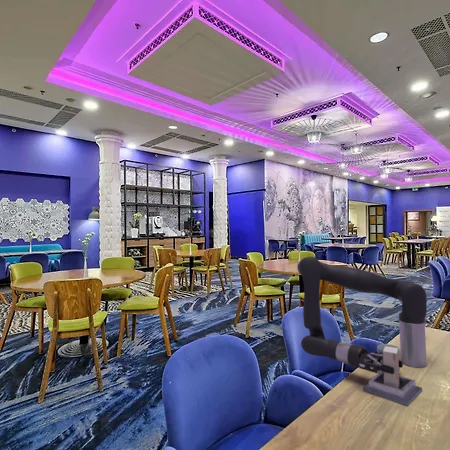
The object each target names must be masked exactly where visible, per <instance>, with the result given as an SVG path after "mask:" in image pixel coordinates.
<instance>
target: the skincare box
mask: <svg viewBox="0 0 450 450" xmlns="http://www.w3.org/2000/svg"><path fill="white" fill-rule="evenodd" d="M398 348H399V347H398ZM398 348H394V347H387V346H385V347H384V350H383V364H384V365H387V366H391V367H393V368H394V374H389V373H386V372H384V384H386V385H389V386H392V387H395V388H398V389H399V376H400V371H399V360H398Z"/></svg>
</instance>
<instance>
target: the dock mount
mask: <svg viewBox="0 0 450 450" xmlns="http://www.w3.org/2000/svg"><path fill="white" fill-rule="evenodd" d="M362 392H366V393H368V394H370V395H371V394H372V395H374V396H376V397H379V398H382V399H386V400H388V401H391V402H394V403H397V404H400V405H402V406H405V407H408V406H410V404H411V403H413V401H414V400H415V399H416V398H417V397H418V396H419V395H420V394H421V393H422V392H423V387H421V386H417V385H416V380H415V379H412V378H408V377H405V376H401V375H399V389H398V388H395V387H392V386H389V385H386V384H384V372H383V371H382V372H378V373H376V374H375V376H373V377H372V378H370V379H369V380H368V383H367V384H366V385H365V386H363V387H362Z"/></svg>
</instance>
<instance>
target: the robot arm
mask: <svg viewBox="0 0 450 450" xmlns="http://www.w3.org/2000/svg"><path fill="white" fill-rule="evenodd" d="M297 272H298V274H299V275H300V276H301V277H302V281H303V293H304V294H303V306H302V307H303V309H302V310H303V315H302V316H303V326H304V328H305V329H307V330H308V332H309V335H306V336H304V337H303V338H302V339H301V340H300V341H301V342H300V345H301V348H302V350H303V351H304V352H305V353H307V354H309V355H310V356H311V355H312V356H317V357H326V358H328V359H332V360H336V361H338V362H341V363H343V364H346V365H350V366H352V367H355V368H358V369H361V370H365V371H368V372H372V373H374V374H378V373H380V372H382V371H383V372H386V373H389V374H394V368H393V367H391V366H387V365H384V364H383V353H382V352H378V351H377V350H374V352H368V350H367V349H366V347H365V346H361V345H357V344H354V343H350V342H349V343H348V342H344V341H343V342H342V341H340V340H335V339H326V338H325V333H324V330H323V329H324V328H323V325H322V317H321V303H320V284H321V283H320V282H321V281H324V282H328V283H331V284H334V285H337V286H340V287H342V288H345V289H349V290H352V291H356V292H359V293H360V292H361V293H365V294H377V295H379V294H380V295H384V296H388V297H389V298H392V299H395V300H398V301H400V302H401V307H402V308H401V311H400V312H399V314H398V322H399V323H398V326H399V349H400V360H399V367H400V369H401V368H403V367H404V365H406V366H409V367H412V368H425V367H426V366H427V365H428V362H427V344H426V340H427V339H426V324H425V323H426V322H425V321H426V320H425V319H426V316H427V313H428V312H427V293H426V289H424V287H423V286H422V285H420V284H418V283H415V282H413V281H410V280H409V281H408V280H400V279H394V278H388V277H384V276H382V275H379V274H377V273H374V272H371V271H367V270H364V269H361V268H355V267H350V266H342V265H341V266H340V265H334V264H328V263H326V262H321V261H320V260H319V259H318V258H317V257H315V256H307V257H303V258H301V259H300V260H299V262H298V263H297ZM381 360H382V362H381Z"/></svg>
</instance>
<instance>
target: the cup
mask: <svg viewBox="0 0 450 450" xmlns="http://www.w3.org/2000/svg"><path fill="white" fill-rule="evenodd" d="M385 346H387V347H394V348H398V360H400V361H401V354H400V347H399V346H397V345H393V344H387V343H386V344H385V343H381V344H380V343H379V344H378V345H377V347H376V348H377V349H376V351H378V352H382V353H383V350H384V347H385ZM381 362H382V360H381ZM400 371H401V368H400V367H399V372H400Z"/></svg>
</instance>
